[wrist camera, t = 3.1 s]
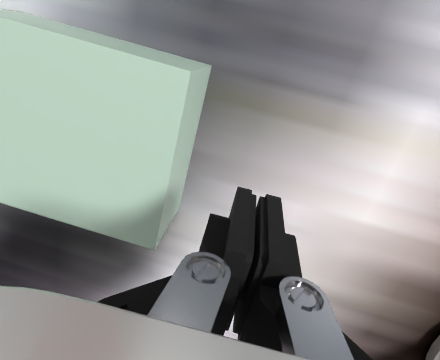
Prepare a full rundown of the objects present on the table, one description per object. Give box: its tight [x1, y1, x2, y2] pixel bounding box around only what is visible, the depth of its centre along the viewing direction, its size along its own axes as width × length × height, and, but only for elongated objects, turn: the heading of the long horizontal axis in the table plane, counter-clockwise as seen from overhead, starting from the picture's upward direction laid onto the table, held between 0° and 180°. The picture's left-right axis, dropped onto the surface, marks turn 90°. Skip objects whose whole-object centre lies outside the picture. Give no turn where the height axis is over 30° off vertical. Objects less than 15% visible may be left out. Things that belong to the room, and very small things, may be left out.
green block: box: [0, 9, 211, 250], centre depth 19 cm, size 12×10×6 cm
